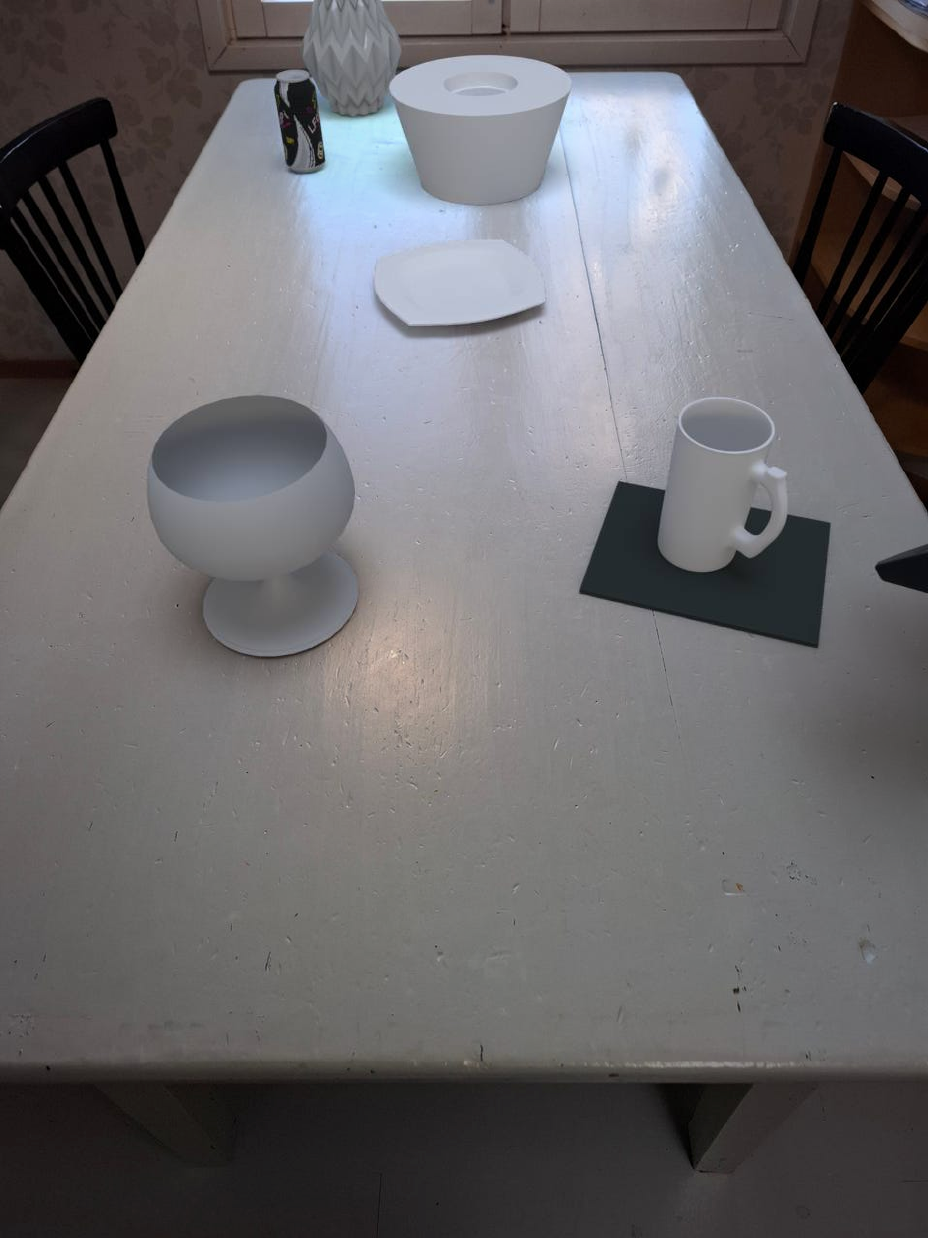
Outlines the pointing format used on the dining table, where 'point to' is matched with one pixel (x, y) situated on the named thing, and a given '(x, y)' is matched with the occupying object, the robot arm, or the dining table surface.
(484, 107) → the white tapered cylinder
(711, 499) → the mug
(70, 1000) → the dining table surface
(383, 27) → the vase
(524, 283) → the plate
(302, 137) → the beverage can
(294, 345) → the dining table surface
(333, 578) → the chalice
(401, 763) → the dining table surface
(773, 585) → the mat
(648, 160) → the dining table surface
